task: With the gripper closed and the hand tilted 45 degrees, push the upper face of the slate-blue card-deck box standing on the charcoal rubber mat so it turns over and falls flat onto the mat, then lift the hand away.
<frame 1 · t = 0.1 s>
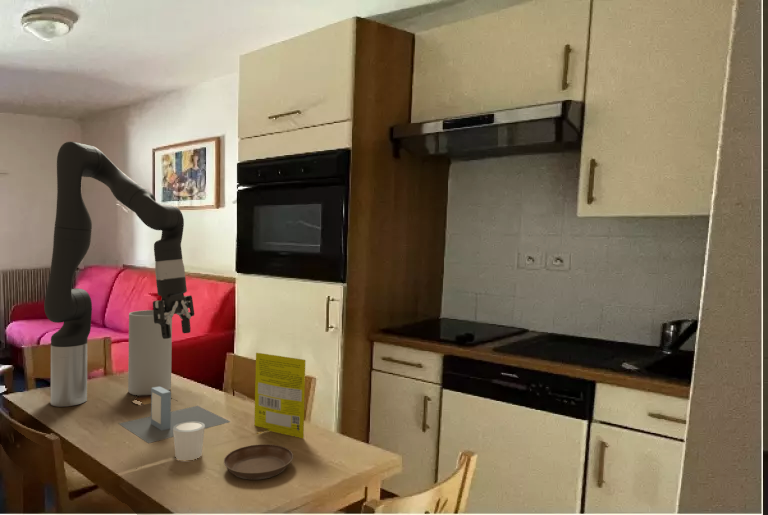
hand: (177, 335, 147), 22 cm above the table, tool pointing down, fingers open, 8 cm apart
mat: (175, 424, 141), on the table
cylinder vase: (149, 391, 170), on the table
parchment: (159, 407, 157), on the table
white tapered cup: (188, 457, 122), on the table
food package: (278, 433, 138), on the table
deck: (160, 426, 138), point 1 cm above the table, touching mat
saucer: (258, 470, 117), on the table
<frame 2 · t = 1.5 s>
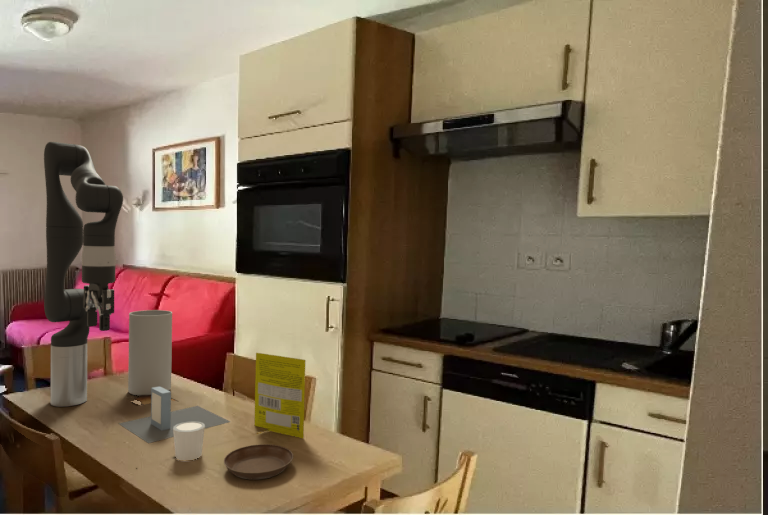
hand: (98, 328, 135), 26 cm above the table, tool pointing down, fingers open, 8 cm apart
nothing on the table moved.
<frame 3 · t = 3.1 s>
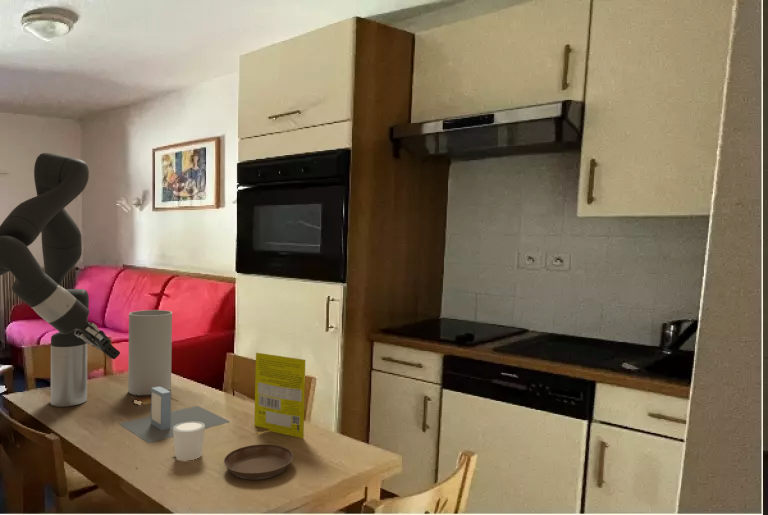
hand: (116, 355, 129), 21 cm above the table, tool tilted 45°, fingers closed
nothing on the table moved.
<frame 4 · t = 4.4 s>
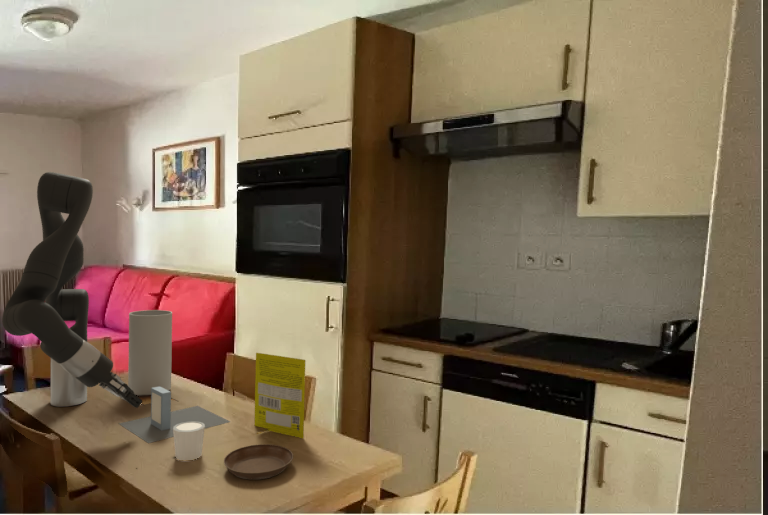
hand: (138, 404, 134), 8 cm above the table, tool tilted 45°, fingers closed
nothing on the table moved.
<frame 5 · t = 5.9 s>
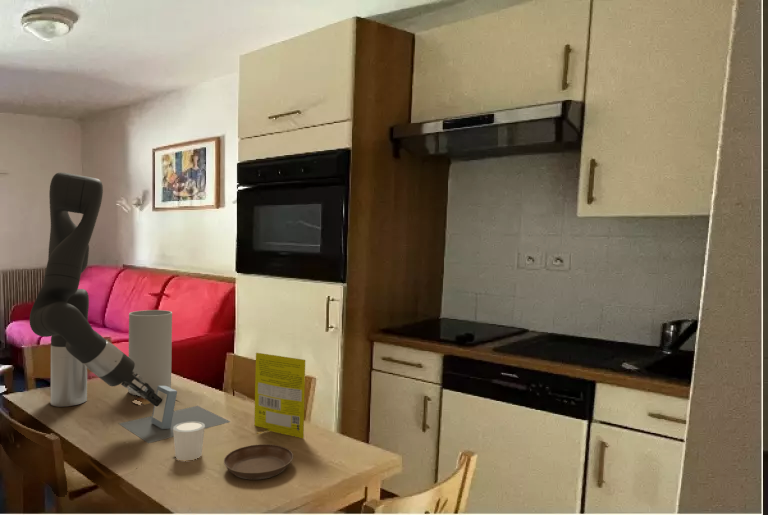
hand: (158, 402, 138), 7 cm above the table, tool tilted 45°, fingers closed
deck: (160, 425, 138), point 1 cm above the table, tilted 10°, touching mat
everything else where it was.
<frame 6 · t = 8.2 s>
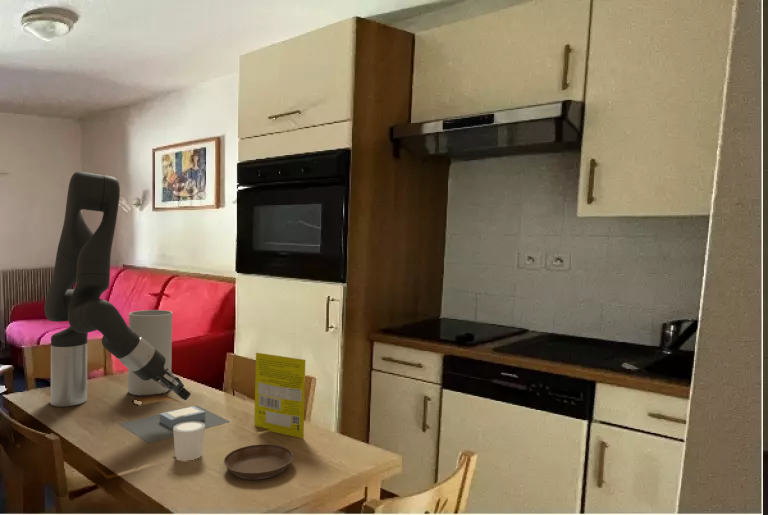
hand: (187, 396, 143), 7 cm above the table, tool tilted 45°, fingers closed
deck: (165, 420, 139), point 2 cm above the table, tilted 90°, touching mat
everything else where it was.
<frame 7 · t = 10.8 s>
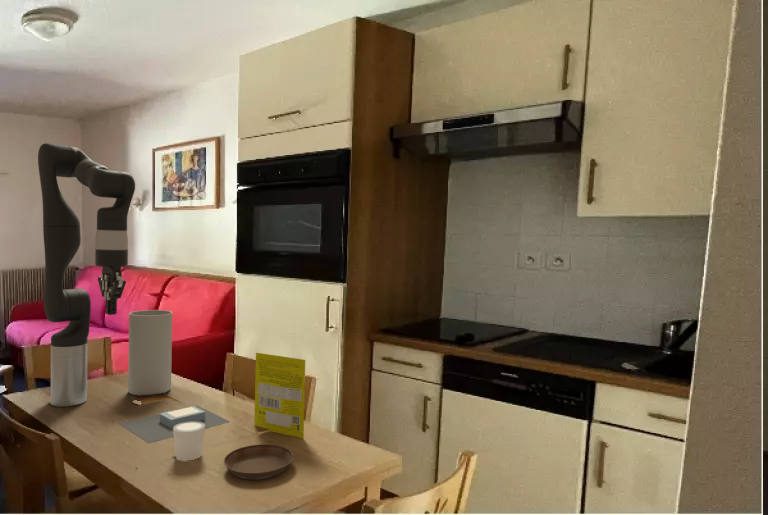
hand: (111, 314, 140), 29 cm above the table, tool pointing down, fingers closed
nothing on the table moved.
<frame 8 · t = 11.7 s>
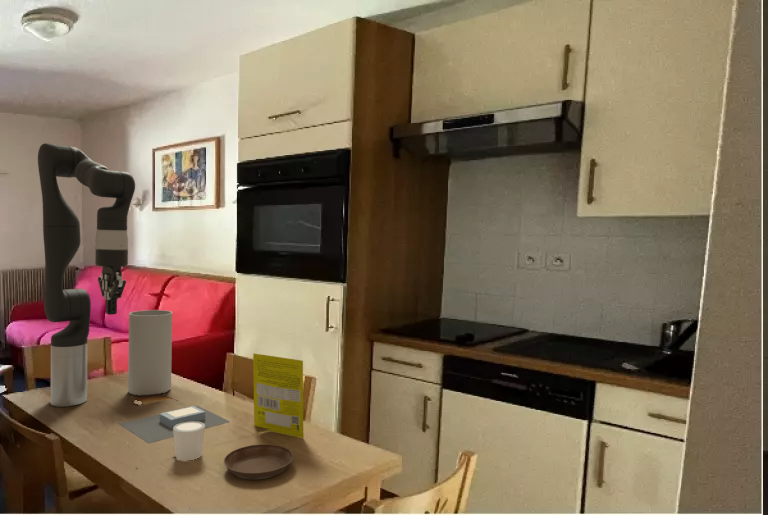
hand: (111, 314, 140), 29 cm above the table, tool pointing down, fingers closed
at the end: deck tilted 90°; deck inside the target area on the mat (2.8 cm from its centre), point 1.7 cm above the mat's base; deck touching mat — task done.
